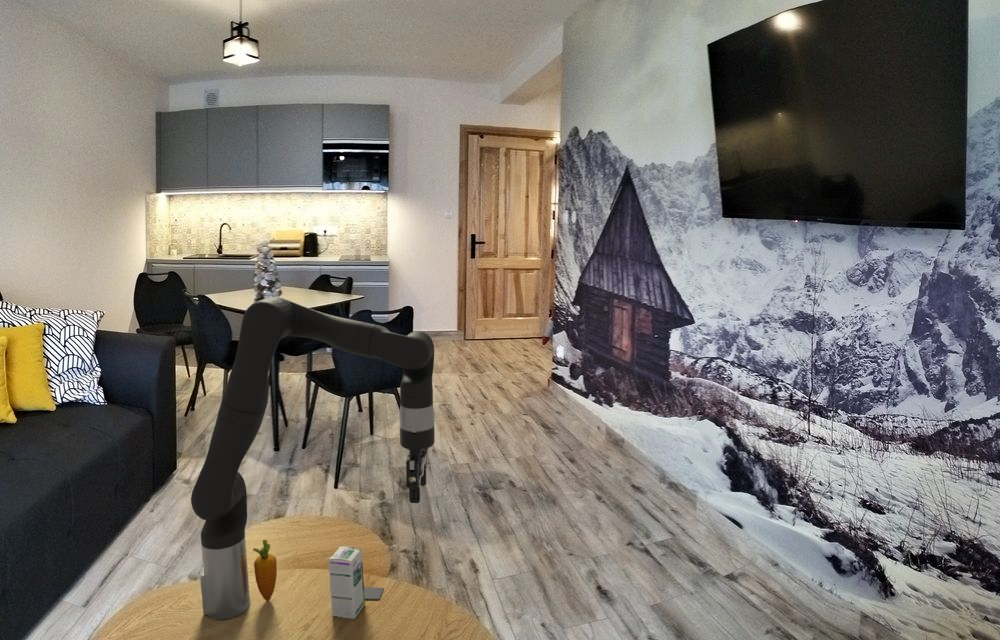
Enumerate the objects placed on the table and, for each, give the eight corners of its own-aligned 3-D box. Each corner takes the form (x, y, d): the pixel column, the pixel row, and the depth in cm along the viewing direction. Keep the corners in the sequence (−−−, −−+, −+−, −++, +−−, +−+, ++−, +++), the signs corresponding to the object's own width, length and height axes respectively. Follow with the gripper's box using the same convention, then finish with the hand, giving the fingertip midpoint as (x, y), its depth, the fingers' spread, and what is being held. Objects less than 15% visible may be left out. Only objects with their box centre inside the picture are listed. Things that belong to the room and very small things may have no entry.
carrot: (269, 609, 150) (265, 549, 148) (252, 604, 152) (247, 545, 149) (283, 597, 155) (279, 538, 152) (266, 593, 156) (262, 535, 154)
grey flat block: (343, 599, 154) (343, 597, 154) (349, 588, 158) (348, 586, 158) (379, 599, 154) (379, 598, 154) (383, 588, 158) (383, 587, 158)
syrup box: (355, 619, 146) (352, 560, 144) (330, 616, 148) (328, 558, 145) (365, 604, 152) (363, 547, 149) (341, 601, 153) (339, 545, 150)
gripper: (406, 413, 148) (407, 479, 151) (393, 435, 134) (394, 508, 137) (438, 413, 148) (439, 480, 151) (429, 435, 134) (430, 509, 137)
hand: (418, 493), depth 144 cm, fingers open, 8 cm apart
